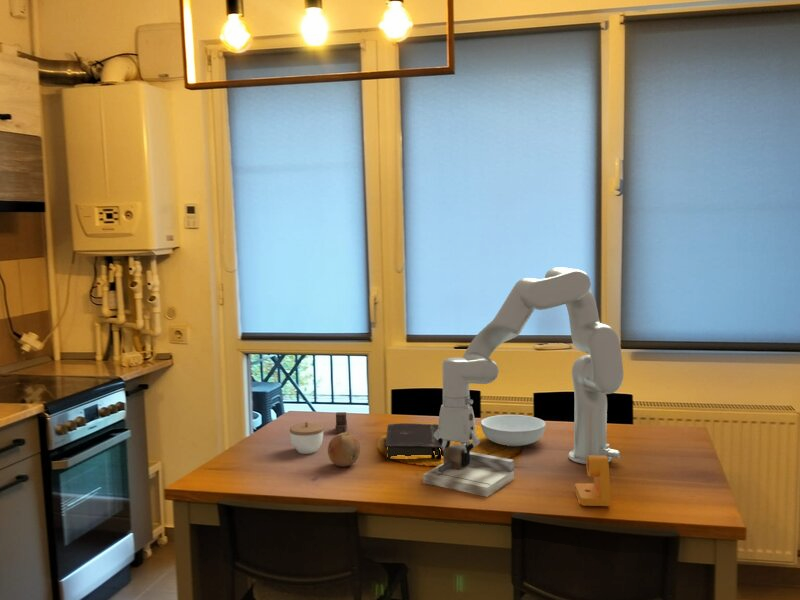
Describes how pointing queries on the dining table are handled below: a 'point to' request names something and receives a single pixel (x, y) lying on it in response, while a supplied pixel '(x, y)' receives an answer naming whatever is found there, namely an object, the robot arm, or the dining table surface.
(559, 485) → the dining table surface
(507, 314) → the robot arm
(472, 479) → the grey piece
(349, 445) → the onion
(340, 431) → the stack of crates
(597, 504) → the bracket
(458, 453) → the block
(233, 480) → the dining table surface
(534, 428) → the serving bowl
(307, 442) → the lidded jar
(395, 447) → the diary
